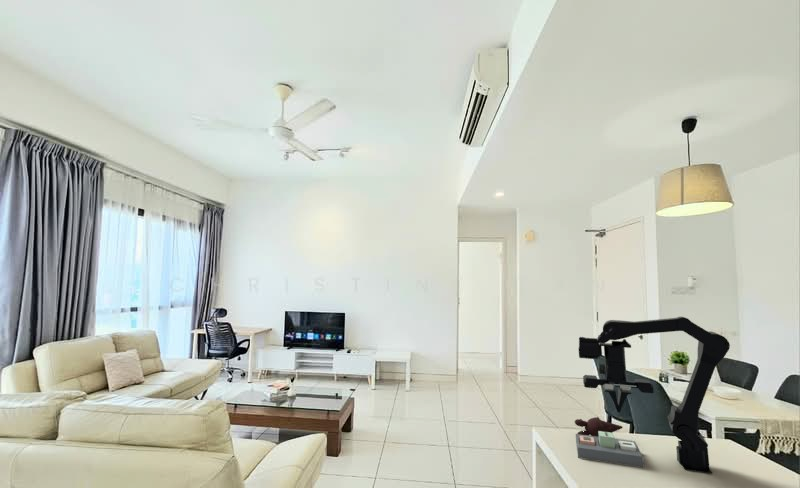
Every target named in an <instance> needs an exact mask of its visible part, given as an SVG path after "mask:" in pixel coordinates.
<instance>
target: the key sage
mask: <svg viewBox="0 0 800 488" xmlns="http://www.w3.org/2000/svg"><path fill="white" fill-rule="evenodd" d="M598 435H599V445H600V446H601V447H608V448H615V439H616V438H615V435H614V432H612V433H610V432H602V431H598Z"/></svg>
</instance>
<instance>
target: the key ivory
mask: <svg viewBox="0 0 800 488" xmlns="http://www.w3.org/2000/svg"><path fill="white" fill-rule="evenodd" d="M619 448H620V449H623V450H630V451H636V447H635V445H634V443H633V442H626V441H619Z"/></svg>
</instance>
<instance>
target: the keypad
mask: <svg viewBox="0 0 800 488" xmlns="http://www.w3.org/2000/svg"><path fill="white" fill-rule="evenodd" d="M580 436H587V437H593V438H594V442H595V446H594V445H587V444H580ZM619 441H626V442H633V443H634V445H635V447H636V451H630V450H623V449H620V448H619ZM575 442H576V443H575V445H576V451H577V458H578V459H582V460H583V459H585V460H592V461H598V462H603V463H612V464H617V465H622V466H623V465H624V466H631V467H636V466H637V468H638V467H639V468H643V467H644V466H645V465H644V456H643V454H642V452H641V451H640V448H639V445H638V444H637V443H636V441H635V440H634V441H632V440H625V439H617V438H615V448H608V447H601V446H600V445H599V437H596V436H591V435H581V434H577V433H575ZM644 468H645V467H644Z"/></svg>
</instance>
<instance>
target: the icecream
mask: <svg viewBox="0 0 800 488" xmlns="http://www.w3.org/2000/svg"><path fill="white" fill-rule="evenodd" d="M574 424H575V425H576V426H577V427H581V428H583V427H584V429H585V430H580V431H578V432H577V433H576V434H581V435H589V436H596V437H599V435H598V431H602V432H610V433H615V432H616V431H619V430H621V429H623V426H622V425H619V424H616V423H612V422H609V421H604V420H602V419H600V418H599V416H596V417H591V418H589V419H588V420H587V421H586V420H583V419H582V418H580V419H578V418H577V419H575V420H574ZM583 431H584V432H583Z"/></svg>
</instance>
